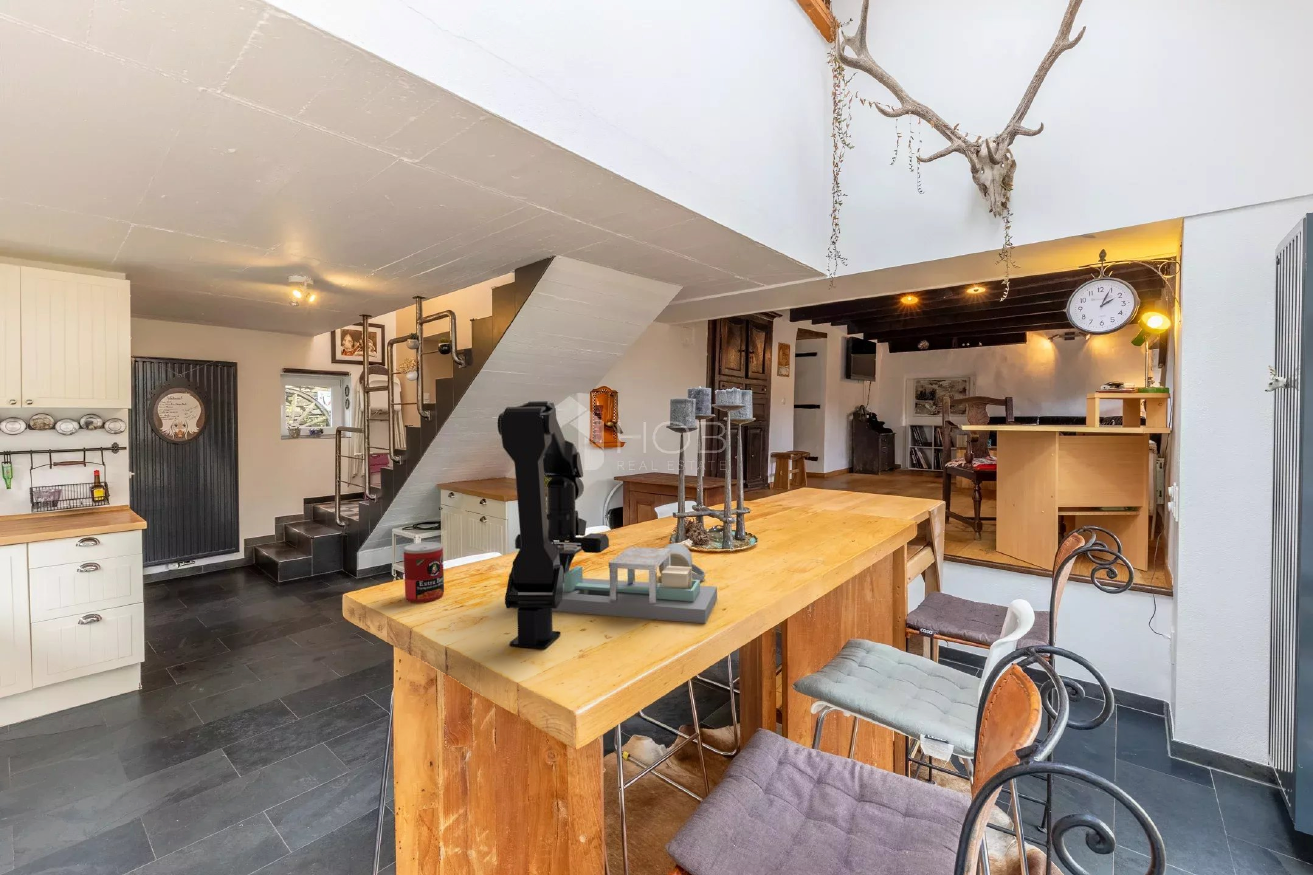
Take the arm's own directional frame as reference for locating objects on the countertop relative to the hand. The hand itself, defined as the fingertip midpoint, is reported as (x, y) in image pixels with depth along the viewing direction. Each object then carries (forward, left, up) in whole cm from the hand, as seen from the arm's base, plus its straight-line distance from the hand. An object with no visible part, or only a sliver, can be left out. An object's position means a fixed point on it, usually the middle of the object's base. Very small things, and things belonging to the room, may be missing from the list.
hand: (562, 582), depth 115 cm
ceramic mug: (+19, -21, -4) cm, 29 cm away
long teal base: (0, -15, -1) cm, 15 cm away
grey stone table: (0, -17, -1) cm, 17 cm away
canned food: (-5, +29, -4) cm, 30 cm away
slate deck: (0, -12, -4) cm, 12 cm away
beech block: (0, -24, -1) cm, 24 cm away
